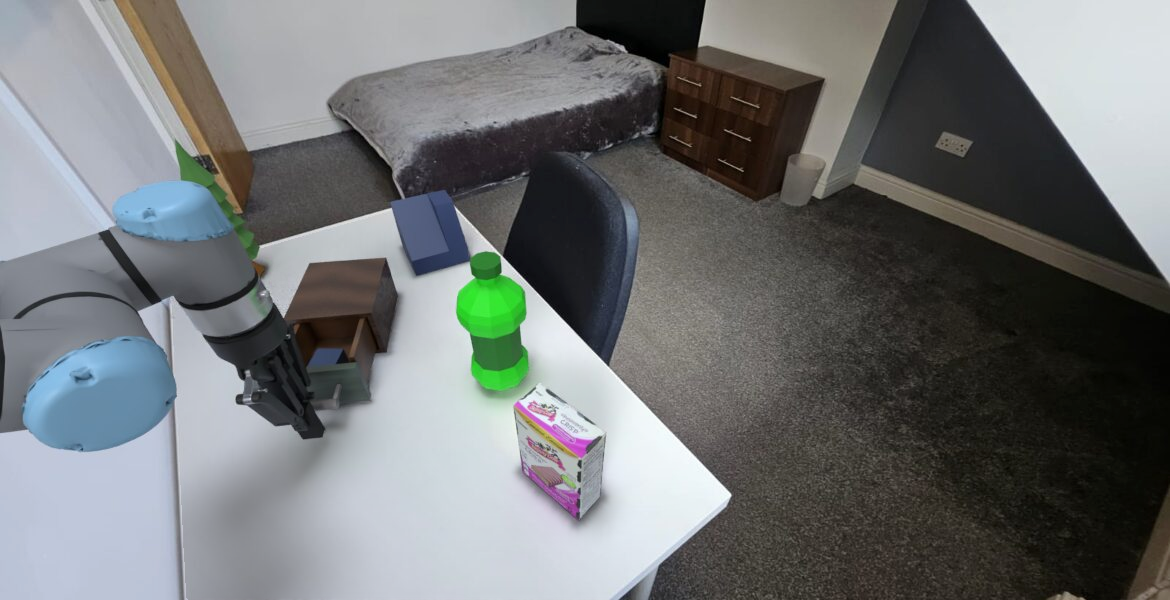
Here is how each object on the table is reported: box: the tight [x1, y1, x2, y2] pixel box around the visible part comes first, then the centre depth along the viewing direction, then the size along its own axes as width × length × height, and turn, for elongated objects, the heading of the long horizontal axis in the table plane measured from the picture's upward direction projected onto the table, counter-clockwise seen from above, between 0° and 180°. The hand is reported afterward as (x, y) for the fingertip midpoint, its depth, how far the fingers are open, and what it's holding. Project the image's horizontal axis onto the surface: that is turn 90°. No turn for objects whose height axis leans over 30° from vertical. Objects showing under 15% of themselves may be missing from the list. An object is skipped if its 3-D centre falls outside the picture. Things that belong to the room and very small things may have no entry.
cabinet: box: [283, 257, 399, 355], centre depth 86 cm, size 16×14×10 cm
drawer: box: [294, 317, 377, 412], centre depth 76 cm, size 19×13×8 cm
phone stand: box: [389, 189, 470, 277], centre depth 103 cm, size 12×12×12 cm
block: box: [307, 348, 350, 367], centre depth 76 cm, size 4×4×4 cm
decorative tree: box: [174, 138, 265, 278], centre depth 90 cm, size 10×9×30 cm
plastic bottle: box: [455, 250, 530, 392], centre depth 72 cm, size 10×10×25 cm
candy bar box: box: [512, 382, 607, 521], centre depth 61 cm, size 11×5×16 cm, turn 50°
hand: (314, 434), depth 68 cm, fingers closed
